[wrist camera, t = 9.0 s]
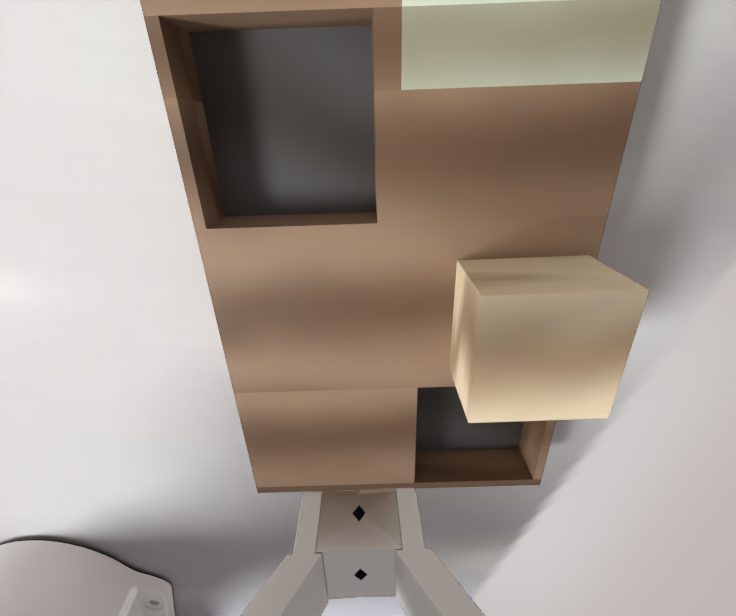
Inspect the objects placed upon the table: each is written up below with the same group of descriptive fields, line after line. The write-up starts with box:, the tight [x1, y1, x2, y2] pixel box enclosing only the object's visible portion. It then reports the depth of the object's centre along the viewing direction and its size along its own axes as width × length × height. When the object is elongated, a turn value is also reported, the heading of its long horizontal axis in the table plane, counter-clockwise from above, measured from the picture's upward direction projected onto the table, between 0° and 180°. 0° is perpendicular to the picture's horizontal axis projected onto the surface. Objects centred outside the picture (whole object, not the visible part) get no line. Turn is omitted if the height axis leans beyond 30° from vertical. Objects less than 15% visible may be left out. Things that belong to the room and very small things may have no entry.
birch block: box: [449, 255, 650, 423], centre depth 16 cm, size 6×6×4 cm
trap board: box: [140, 0, 662, 493], centre depth 18 cm, size 30×18×3 cm, turn 2°
